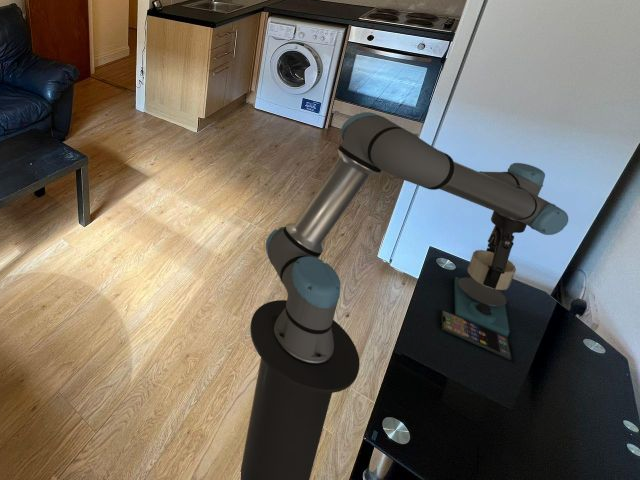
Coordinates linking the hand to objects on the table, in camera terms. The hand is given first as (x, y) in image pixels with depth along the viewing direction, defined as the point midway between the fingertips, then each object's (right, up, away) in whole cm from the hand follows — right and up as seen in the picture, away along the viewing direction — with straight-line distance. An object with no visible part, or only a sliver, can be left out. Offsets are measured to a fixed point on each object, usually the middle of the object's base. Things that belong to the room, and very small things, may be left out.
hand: (487, 276), depth 125 cm
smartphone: (-12, -13, -9) cm, 20 cm away
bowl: (0, -1, 0) cm, 1 cm away
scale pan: (0, -6, +2) cm, 6 cm away
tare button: (-6, -8, -5) cm, 11 cm away
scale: (-2, -10, +1) cm, 10 cm away
